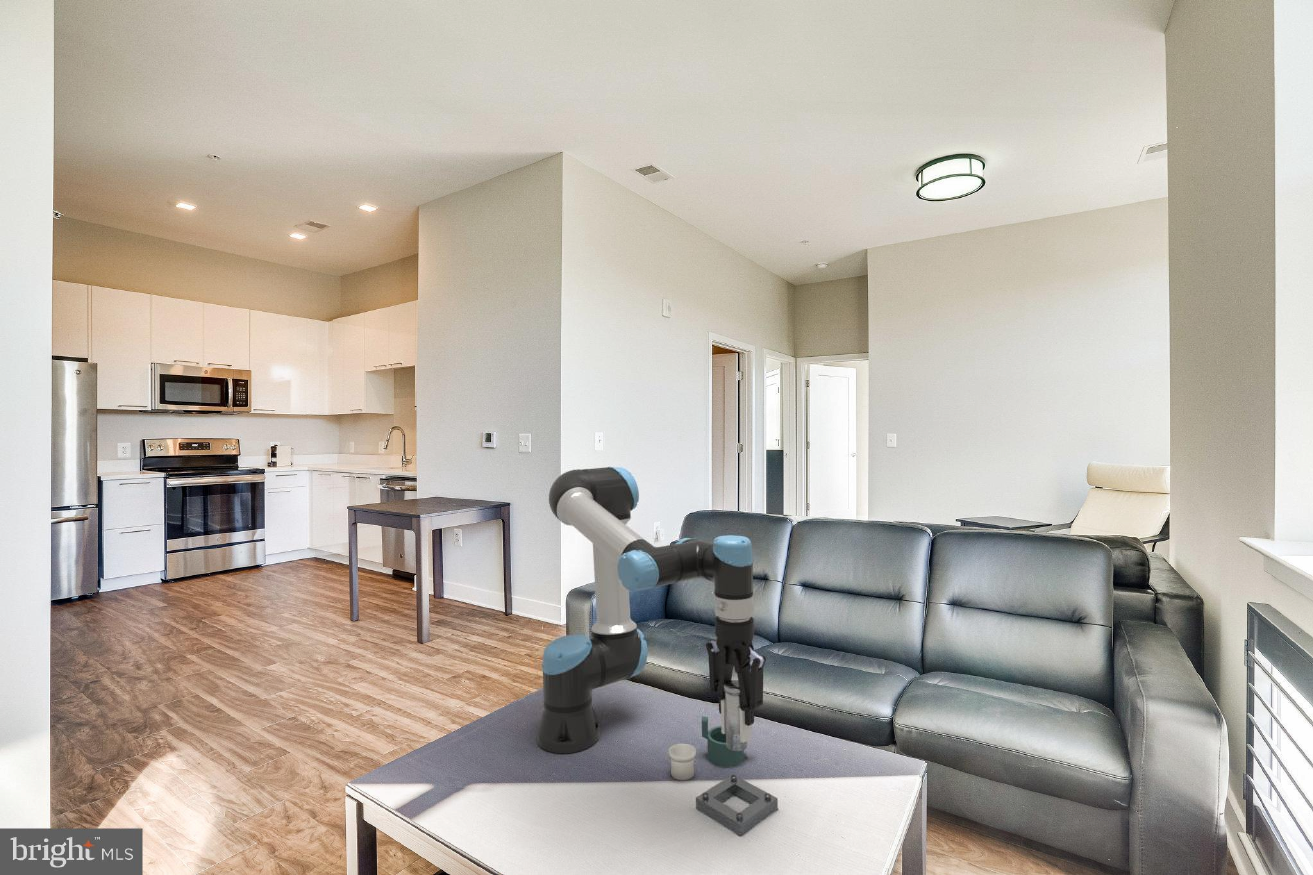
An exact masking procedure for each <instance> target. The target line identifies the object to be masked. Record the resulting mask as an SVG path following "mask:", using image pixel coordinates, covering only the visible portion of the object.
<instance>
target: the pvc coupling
mask: <svg viewBox="0 0 1313 875" xmlns="http://www.w3.org/2000/svg"><path fill="white" fill-rule="evenodd" d="M696 754H697V752H696V748H695V747H694V746H692V745H691V744H687V743H677V744H673V745H672V746H671V747H669V749H668V756H669V759H670V774H671V778H673V779H675V780H679V781H688V780H690V779H692V778H693V777H694V775H695V759H696V757H697V755H696Z"/></svg>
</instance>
